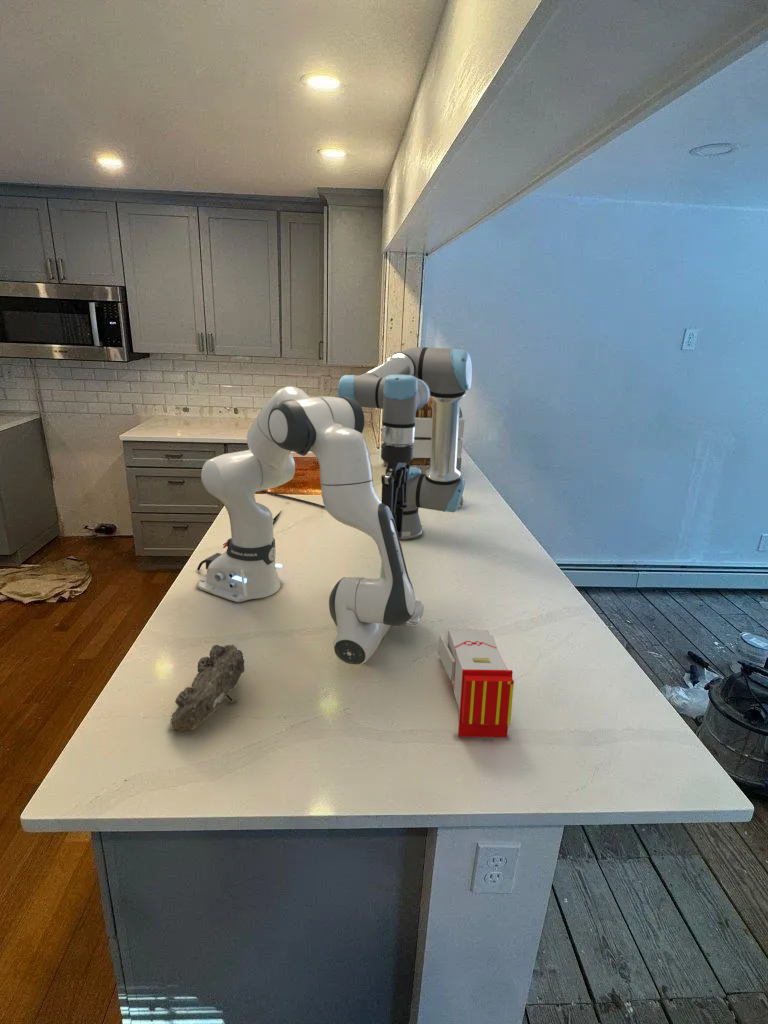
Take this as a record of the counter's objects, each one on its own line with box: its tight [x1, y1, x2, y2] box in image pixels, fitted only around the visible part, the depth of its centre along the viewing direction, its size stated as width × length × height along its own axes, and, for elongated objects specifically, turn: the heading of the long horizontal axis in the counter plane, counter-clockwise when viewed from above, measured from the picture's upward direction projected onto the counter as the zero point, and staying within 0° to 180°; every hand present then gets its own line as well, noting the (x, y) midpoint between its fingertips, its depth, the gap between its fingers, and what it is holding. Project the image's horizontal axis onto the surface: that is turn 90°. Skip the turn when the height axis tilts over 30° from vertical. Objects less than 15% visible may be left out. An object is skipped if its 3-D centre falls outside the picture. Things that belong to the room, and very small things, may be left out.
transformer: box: [383, 397, 465, 475], centre depth 268 cm, size 34×33×41 cm
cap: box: [396, 527, 402, 538], centre depth 139 cm, size 4×4×2 cm
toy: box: [437, 628, 515, 738], centre depth 117 cm, size 12×13×30 cm
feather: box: [273, 510, 282, 526], centre depth 212 cm, size 2×28×2 cm
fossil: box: [170, 644, 246, 733], centre depth 111 cm, size 22×10×15 cm
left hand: (390, 591), depth 146 cm, fingers closed on bottle, 5 cm apart
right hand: (392, 536), depth 140 cm, fingers closed on cap, 4 cm apart
